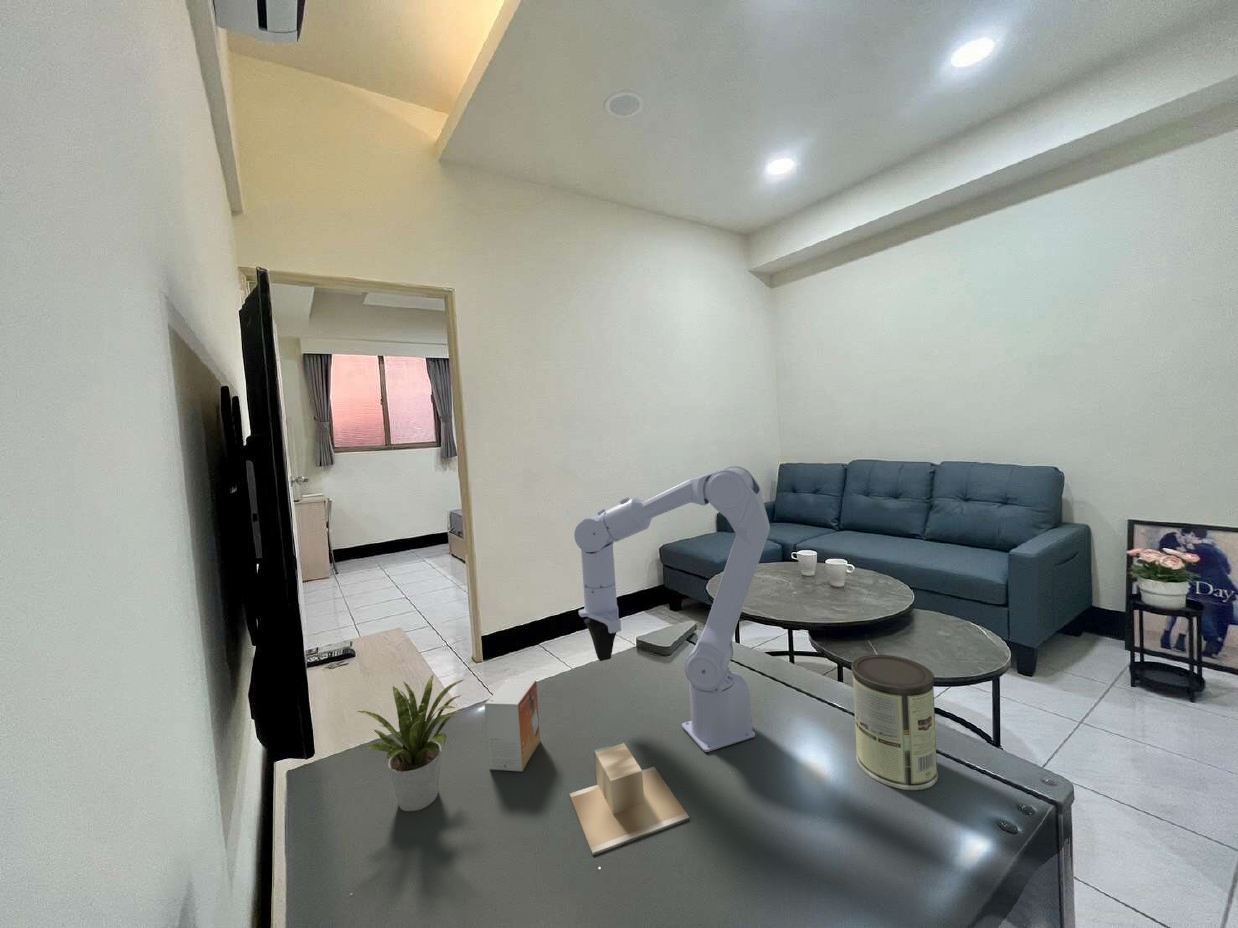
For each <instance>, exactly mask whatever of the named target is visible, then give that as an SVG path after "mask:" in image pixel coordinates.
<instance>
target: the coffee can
mask: <svg viewBox="0 0 1238 928" xmlns="http://www.w3.org/2000/svg"><path fill="white" fill-rule="evenodd" d="M850 665H851V666H850V668H851V673H852V685H853V686H852V687H853V703H854V704H853V705H854V725H855V740H856V741H855V745H856V753H855V754H856V761H857V764H858V765H859V767H860V769H861V770H862V771H863V772H864V773H865V774H866V775H868V776H869V777H870V778H872V779H874V780H876V781H877V782H880V783H881V784H883V785H886V786H888V787H891V788H892V787H893V788H896V789H901V790H903V791H904V790H906V791H921V790H922V791H923V790H925V789H929V788H931V787H933V785H935V784H936V783H937V781H938V778H939V776H938V775H939V774H938V773H939V772H938V762H937V760H938V759H937V741H936V740H937V739H936V736H937V735H936V721H935V720H936V711H935V692H934V691H935V690H934V684H935V675H934V674H933V673H934V672H932V671H931V670H930V669H929V668H928V667H926V666H924V665H923V664H922V663H919V662H917V661H915V660H914V661H913V660H911V659H908V658H904V657H901V656H900V657H899V656H897V655H896V656H895V655H886V654H868V655H863V656H860V657H857V658H856V659H855V660H853V661H852V663H851V664H850Z"/></svg>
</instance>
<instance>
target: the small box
mask: <svg viewBox="0 0 1238 928" xmlns="http://www.w3.org/2000/svg"><path fill="white" fill-rule="evenodd" d="M537 687H538V686H537V680H535V679H517V678H516V679H515V678H513V679H512V678H507V679H505V680H504V681H503V682H502V684H501V685H500V686H499V687H498V689H496V691H495V692H494V693H493V694H492V695H491V696H490V697H489V699H487V701H485V702H484V713H485V717H484V718H485V727H486V740H487V755H488V767H489V770H495V771H509V772H511V771H512V772H523V771H524V769H525V768H526V766H527V764H528V763H529V761H530V759H531V758H532V756H533V754H534V752H535V751H536V749H537V747H538V746H539V744H540V743H541V734H540V733H541V731H540V718H539V705H538V704H539V703H538V702H539V699H538V688H537Z"/></svg>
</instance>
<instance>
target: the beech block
mask: <svg viewBox="0 0 1238 928" xmlns="http://www.w3.org/2000/svg"><path fill="white" fill-rule="evenodd" d="M593 754H594V755H593V756H594V769H595V781H596V785H598V786H599V788H600V790H601V792H602V794H603V796H604V798H605V800H606V802H607V804H608V806H609V808H610V810H611V812H612V814H615V813H618V812H621V811H624V810H626V809H629V808H632V807H635V806H638V805H641V804H643V803H644V791H643V775H642V770H643V769H642V768H641V766H640V765H639V763H638V762H637V761H636V759H635V758H634V756H633V755H632V753H631V751H630V750H629V748H628V747H627V746H626V744H625V742H624V741H621V742H616V743H614V744H611V745H607V746H605V747H601V748H597V749H594V750H593Z"/></svg>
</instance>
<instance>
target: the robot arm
mask: <svg viewBox="0 0 1238 928" xmlns="http://www.w3.org/2000/svg"><path fill="white" fill-rule="evenodd" d="M619 503H620V504H617V505H615V506H613V507H610V508H609V509H607V510H606V509H605V508H602V509H600V510H598V511H597V515H595V516H592V517H589V518H584V519H583V520H582V521H581V522H579V523H578V524H577V525H576V527H575V529H574V541H575V543H576V545H577V547H579V549H580V551H581V552H580V553H581V567H582V568H581V569H582V585H583V599H584V608H582V609H579V610H578V615H579V617H581V618H585V619H583V622H584V624H585V626H586V628H587V630H588V631H589V633H590V636H591V639H592V644H593V647H594V650H595V654H596V658H597V659H598V661H600V662H603V661H607V660H611V658H612V655H613V654H612V653H613V648H614V642H615V639H616V636H617V633H618V632H622V621H621V619H620V617H619V606H618V601H617V588H616V587H617V585H616V571H615V557H614V544H615V543H616V542H617V543H618V542H620V541H621V540H624V539H626V538H629V537H631V536H633V535H636V534H638V533H641V532H642V531H645V530H647V529H648V528H649V527H650V525H651V521H652V520H653V518H656V517H657V516H660V515H663V514H665V513H667V512H670V511H673V510H675V509H678V508H680V507H682V506H685V505H687V504H696V505H700V506H703V507H704V506H706V505H708V504H710V505H711V507H713V508H714V509H715V510H716V511H717V512H719V513H720V514H721V515H722V516H723V517H725V518H726V520H727V521H728V523H729V525H730V526H731V528H732V529H733V531H734V533H735V536H734V540H733V543H732V546H731V548H730V552H729V554H728V558H727V561H726V564H725V567H724V570H723V571H722V572H723V573H722V576H721V578H720V582H719V584H718V588H717V590H716V594H715V596H714V599H713V603H712V604H711V609H710V610H709V613H708V617H707V620H706V623H705V626H704V628H703V631H702V633H701V634H700V635H699V637H698V639H697V641H696V644H695V646H694V647H693V649H692V650H691V652H690V654H689V655H688V656H687V658H686V659H685V662H684V667H683V669H684V673H685V677H686V679H687V680H688V685H689V688H688V689H689V690H688V691H689V704H690V720H689V721H685V722H682V723H681V728H682V729H683V730H684V731H685V732H686V733H687V734H688V735H689V737H690V738H691V739H692V740H694V742H695V743H696V744H697V745H698V746H699V748H700V749H701V750H702V751H703V752H704V753H708V752H712V751H714V750H718V749H720V748H724V747H728V746H730V745H733V744H737V743H740V742H743V741H745V740H749V739H752V738H755V737H756V733H755V731H753V720H752V719H753V717H752V716H753V714H752V701H751V693H750V689H749V685H748V684H747V683H748V682H746V680H745V679H744V677H743V676H742V675H741V674H739V673H737V672H732V671H731V669H730V667H729V665H730V662H731V660H732V659H733V656H734V646H733V640H734V639H733V638H734V636H735V632H736V628H737V626H738V625H737V624H738V621H739V620H740V617H741V614H742V611H743V608H744V605H745V602H746V600H747V596H748V594H749V591H750V588H751V586H752V582H753V579H754V576H755V573H756V571H757V569H758V566H759V563H760V560H761V556H762V554H763V550H764V548H765V546H766V545H765V544H766V543H767V540H768V537H769V534H770V528H771V526H770V521H769V518H768V517H769V516H768V514H767V511H766V506H765V503H764V499H763V496H762V489H761V486H760V485H759V482H757V480H756V479H755V478H754V476H753V475H752V474H751V472H750V471H749V470H748V469H746V468H744V467H742V466H737V465H732V466H729V467H728V466H727V467H726V468H724V469H721V470H719V471H718V470H717V471H713V472H710V473H706V474H702V475H699V476H695V477H693V478H690V479H688V480H685V481H684V482H682V483H679V484H678V485H676V486H674V487H671V488H669V489H668V490H665V491H663V492H661V493H659V494H657V495H654V496H653V497H650V498H649V499H647V500H643V499H641V498H637V497H632V498H630V497H628V496H627V497H624V498H622V499H620V500H619ZM586 617H587V618H586Z"/></svg>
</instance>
